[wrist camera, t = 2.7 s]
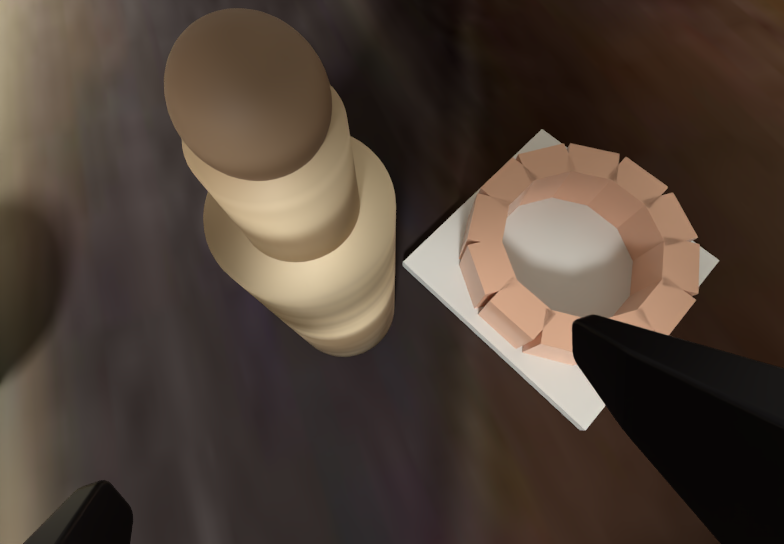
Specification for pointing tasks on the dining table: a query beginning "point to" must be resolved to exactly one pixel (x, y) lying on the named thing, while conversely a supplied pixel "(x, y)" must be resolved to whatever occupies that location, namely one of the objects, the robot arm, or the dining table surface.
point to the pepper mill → (285, 179)
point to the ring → (563, 261)
